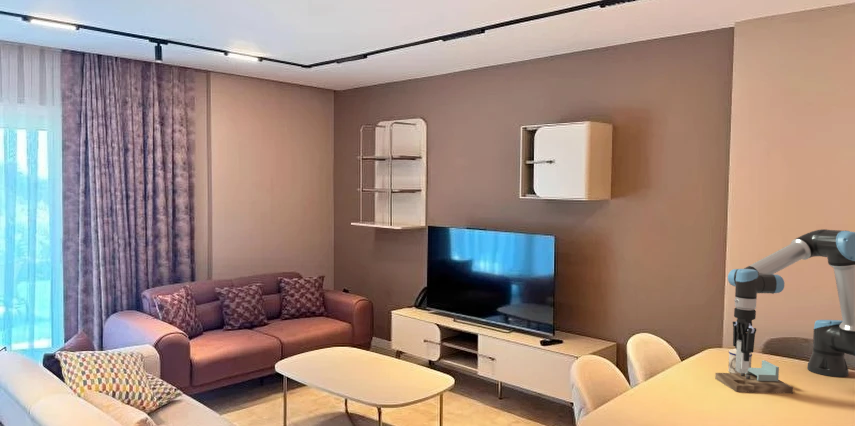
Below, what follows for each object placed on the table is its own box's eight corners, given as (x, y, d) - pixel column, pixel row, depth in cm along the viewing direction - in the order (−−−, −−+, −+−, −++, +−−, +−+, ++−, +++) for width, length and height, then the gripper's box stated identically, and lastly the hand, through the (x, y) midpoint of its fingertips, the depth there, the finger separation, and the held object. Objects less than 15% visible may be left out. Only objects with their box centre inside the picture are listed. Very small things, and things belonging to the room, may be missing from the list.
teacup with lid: (735, 368, 269) (736, 342, 268) (755, 374, 261) (757, 347, 261) (719, 372, 262) (720, 345, 262) (739, 378, 254) (741, 350, 254)
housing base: (767, 380, 253) (768, 370, 252) (792, 393, 236) (793, 383, 235) (715, 378, 252) (715, 369, 252) (736, 392, 235) (736, 381, 235)
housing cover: (764, 373, 252) (764, 360, 252) (778, 381, 242) (779, 367, 242) (744, 373, 252) (745, 359, 252) (758, 380, 242) (759, 366, 242)
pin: (743, 370, 242) (745, 339, 241) (747, 373, 239) (749, 341, 238) (735, 370, 242) (737, 339, 241) (739, 372, 239) (741, 340, 238)
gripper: (725, 304, 248) (722, 361, 248) (746, 312, 231) (743, 373, 232) (743, 304, 248) (740, 362, 248) (766, 312, 231) (762, 373, 232)
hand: (741, 367), depth 240 cm, fingers closed on pin, 3 cm apart
